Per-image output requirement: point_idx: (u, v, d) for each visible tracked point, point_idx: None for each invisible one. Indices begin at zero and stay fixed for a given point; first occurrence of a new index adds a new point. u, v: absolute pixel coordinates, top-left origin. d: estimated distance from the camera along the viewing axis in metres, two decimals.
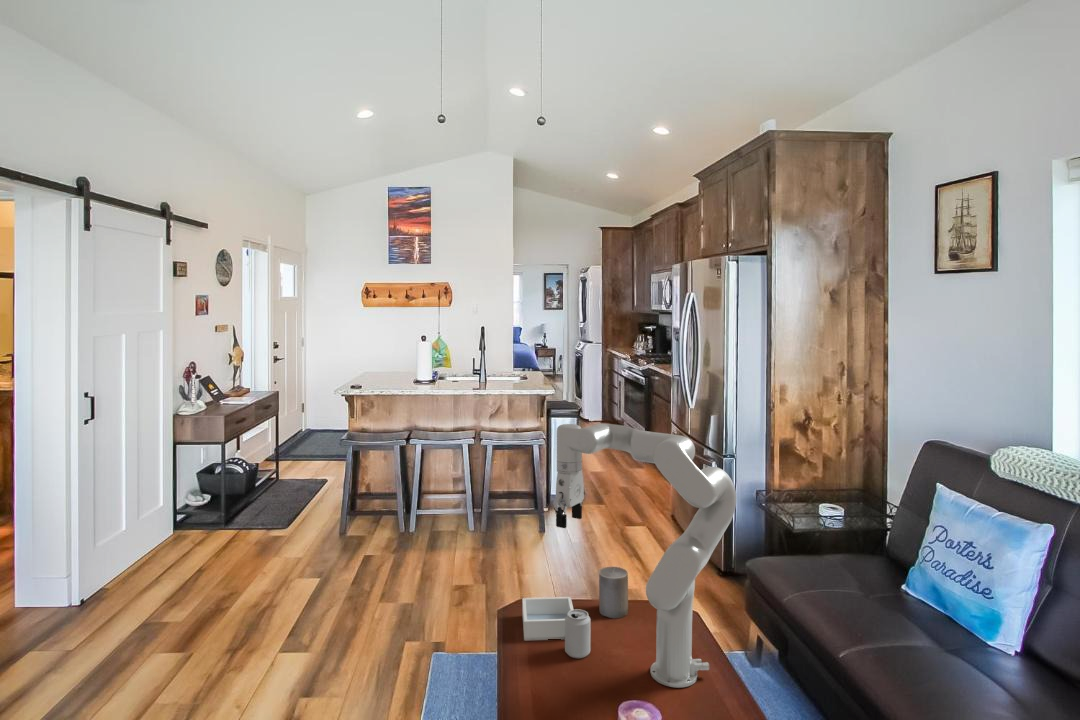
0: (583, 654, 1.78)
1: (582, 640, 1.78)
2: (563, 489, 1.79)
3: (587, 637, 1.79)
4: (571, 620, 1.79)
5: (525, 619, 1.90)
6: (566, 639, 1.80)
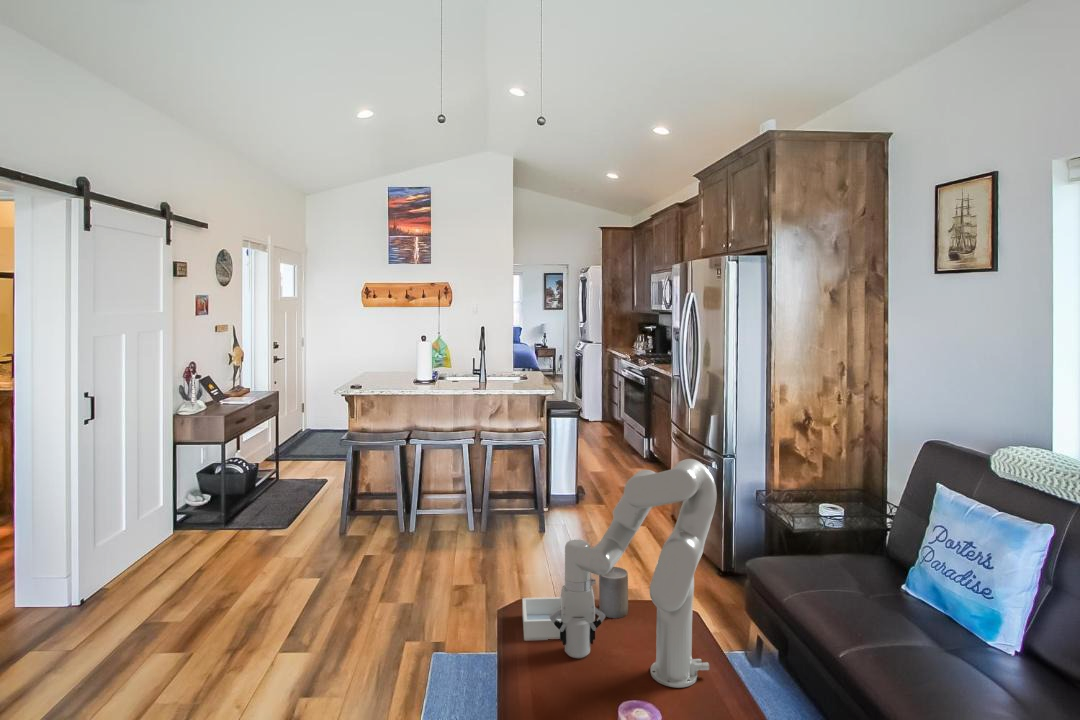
0: (583, 654, 1.78)
1: (582, 640, 1.78)
2: None
3: (587, 637, 1.79)
4: (571, 620, 1.78)
5: (525, 619, 1.90)
6: (566, 639, 1.80)
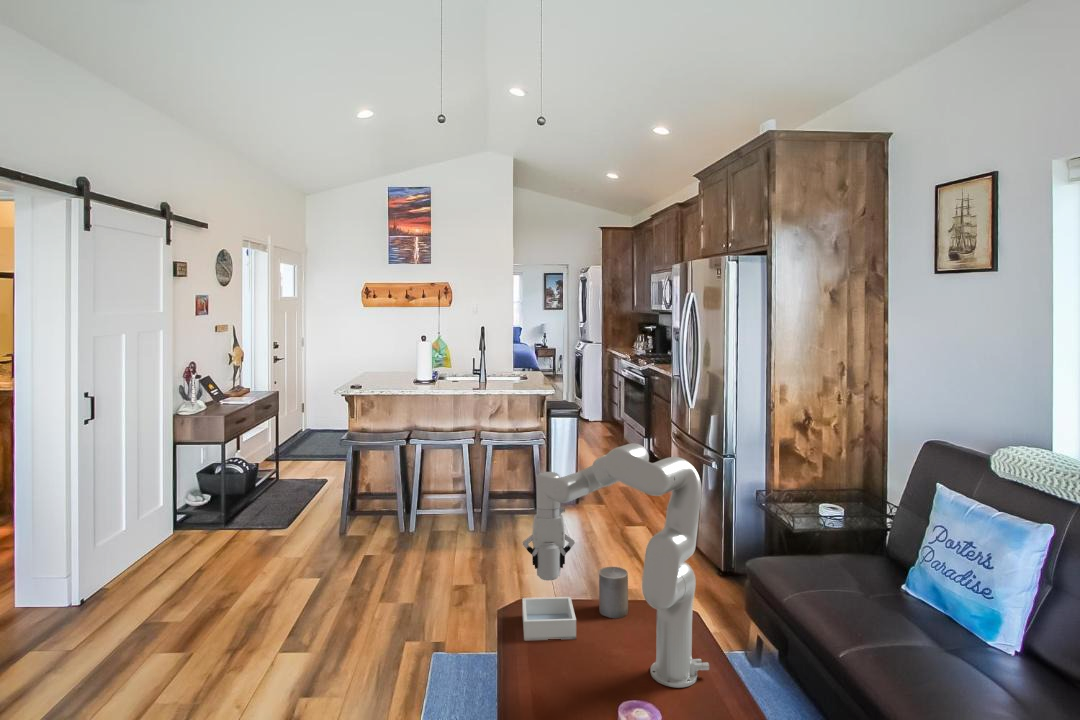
0: (553, 576, 1.92)
1: (552, 563, 1.92)
2: None
3: (557, 561, 1.93)
4: (542, 545, 1.93)
5: (525, 619, 1.90)
6: (538, 563, 1.94)
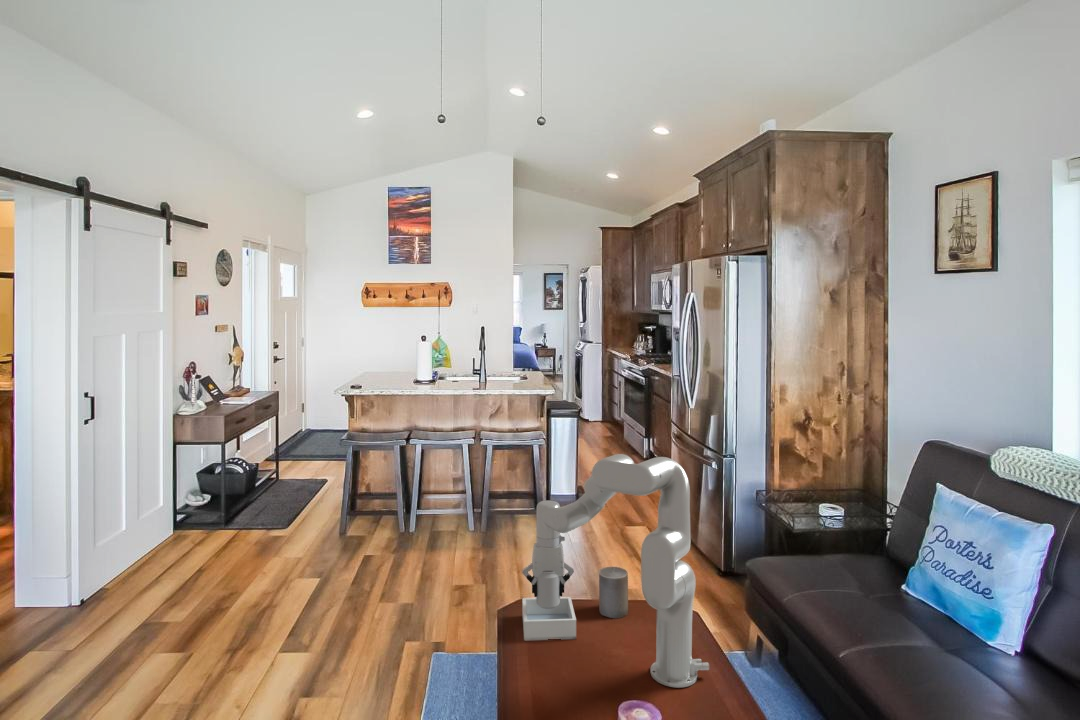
0: (552, 605, 1.93)
1: (551, 592, 1.93)
2: None
3: (556, 589, 1.94)
4: (542, 574, 1.94)
5: (525, 619, 1.90)
6: (537, 591, 1.95)
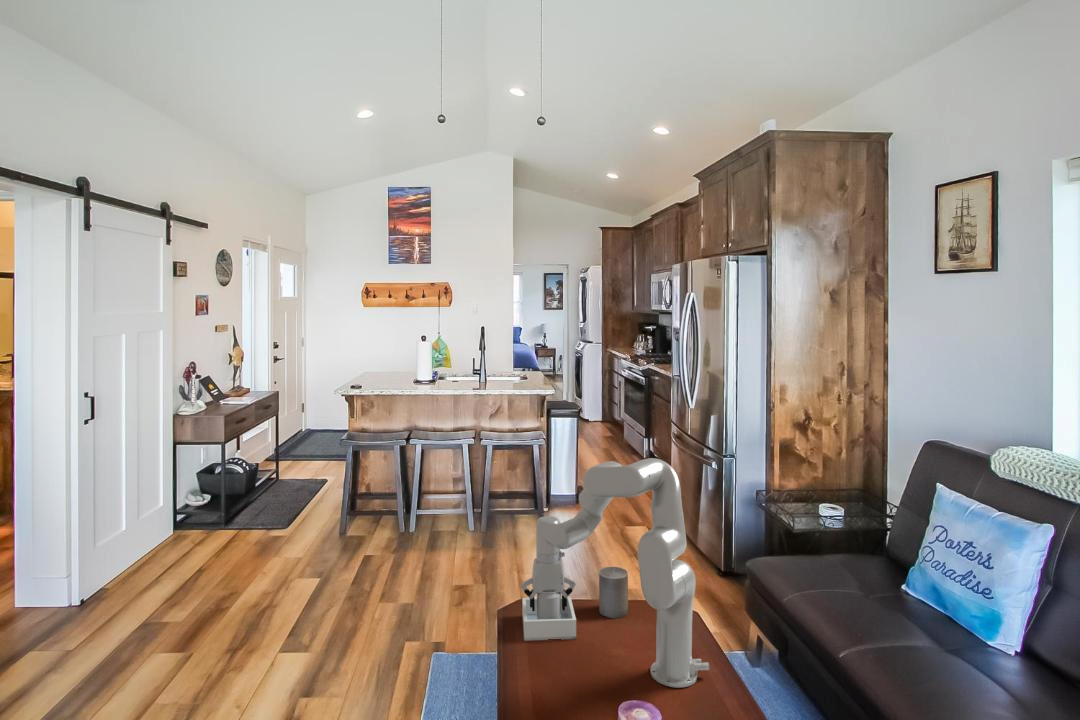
0: None
1: (552, 612, 1.93)
2: None
3: (557, 610, 1.94)
4: (542, 594, 1.94)
5: (525, 619, 1.90)
6: (538, 611, 1.95)
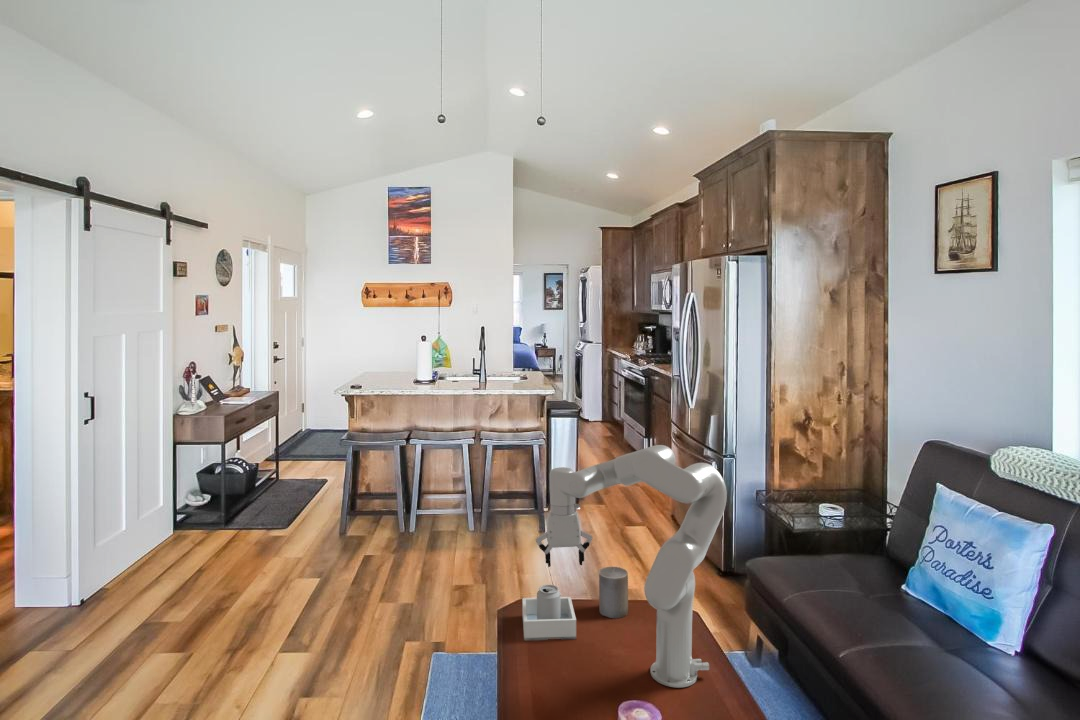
0: None
1: (552, 612, 1.93)
2: None
3: (557, 610, 1.94)
4: (542, 594, 1.94)
5: (525, 619, 1.90)
6: (538, 612, 1.95)
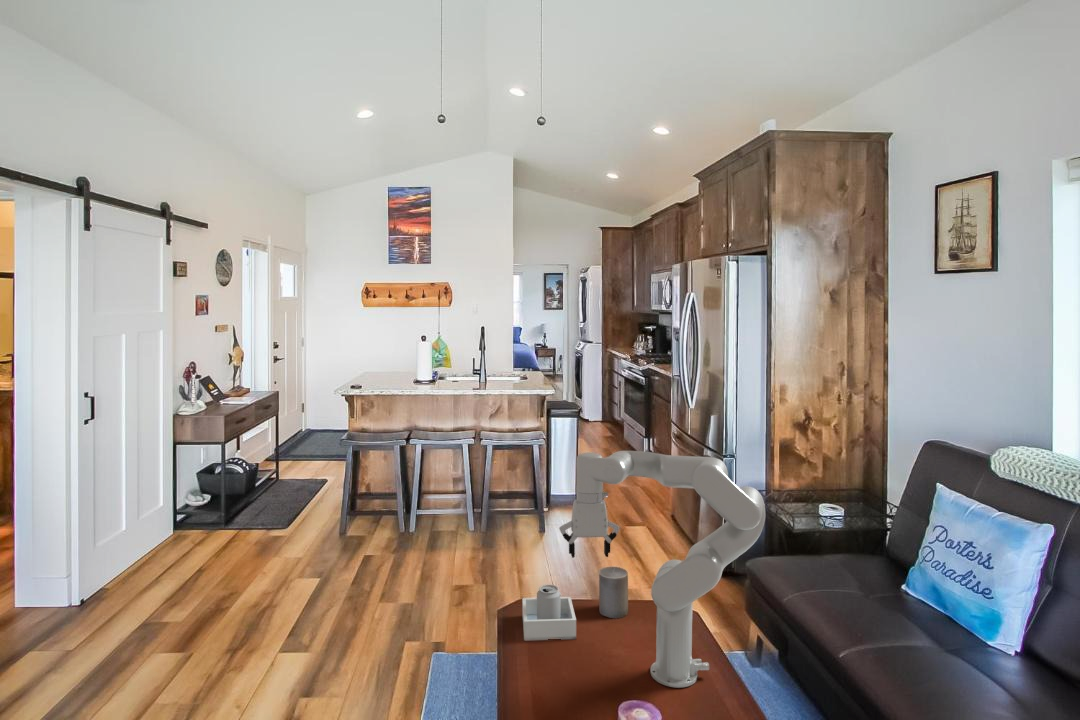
0: None
1: (552, 612, 1.93)
2: None
3: (557, 610, 1.94)
4: (542, 594, 1.94)
5: (525, 619, 1.90)
6: (538, 612, 1.95)
